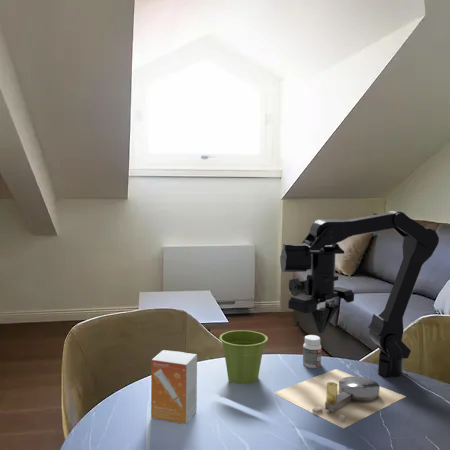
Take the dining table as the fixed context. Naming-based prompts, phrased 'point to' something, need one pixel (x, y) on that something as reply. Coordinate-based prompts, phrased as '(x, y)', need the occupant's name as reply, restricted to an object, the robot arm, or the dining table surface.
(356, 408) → the stand board
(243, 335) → the plant pot
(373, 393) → the lever
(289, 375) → the dining table surface
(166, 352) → the small box
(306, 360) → the pill bottle
